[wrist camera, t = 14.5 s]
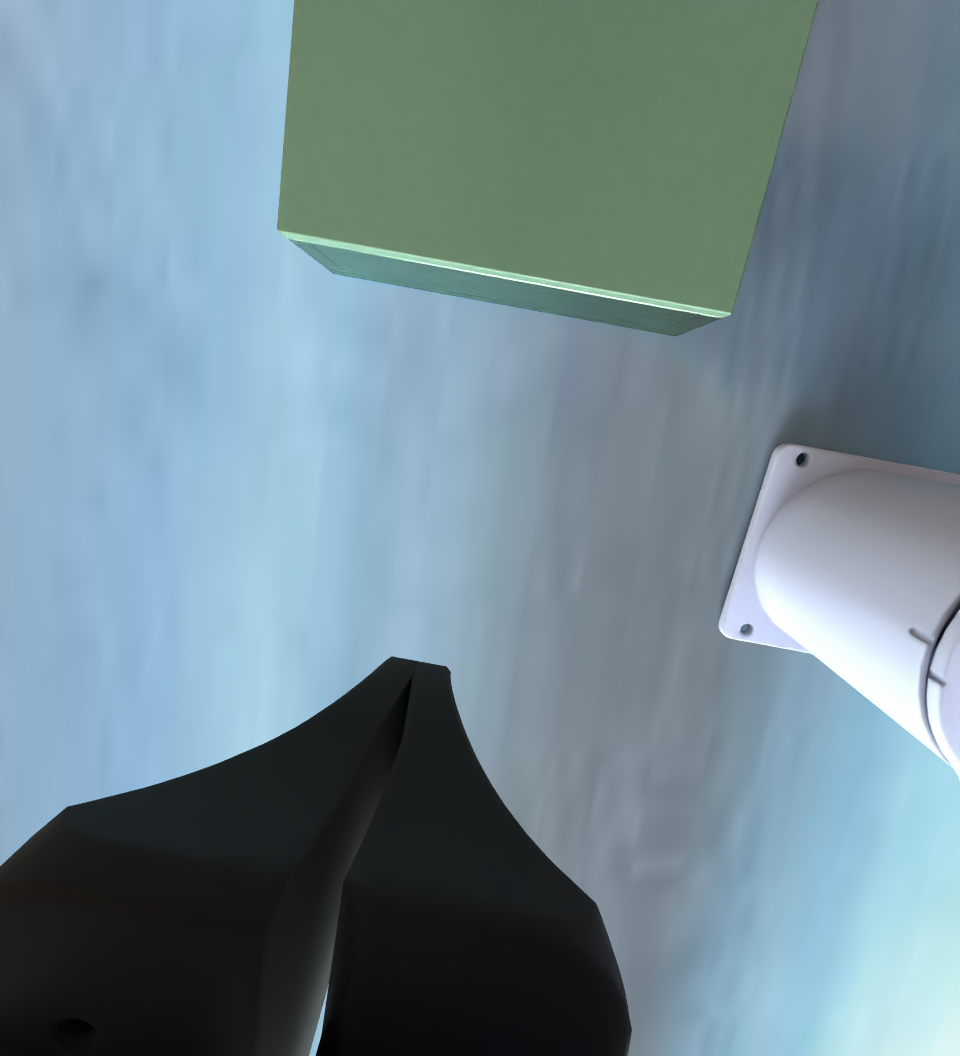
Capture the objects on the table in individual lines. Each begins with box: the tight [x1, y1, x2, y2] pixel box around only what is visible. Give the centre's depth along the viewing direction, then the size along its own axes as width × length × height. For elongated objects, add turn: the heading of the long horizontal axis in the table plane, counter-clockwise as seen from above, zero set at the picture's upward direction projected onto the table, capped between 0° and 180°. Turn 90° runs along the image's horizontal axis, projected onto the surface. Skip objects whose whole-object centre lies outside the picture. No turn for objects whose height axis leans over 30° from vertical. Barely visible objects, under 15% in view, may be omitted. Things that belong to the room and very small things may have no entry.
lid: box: [277, 0, 819, 318], centre depth 14 cm, size 8×13×1 cm, turn 80°
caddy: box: [288, 238, 722, 336], centre depth 16 cm, size 7×13×4 cm, turn 80°
